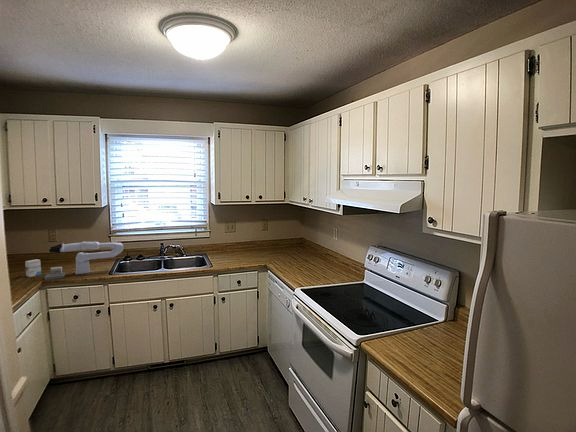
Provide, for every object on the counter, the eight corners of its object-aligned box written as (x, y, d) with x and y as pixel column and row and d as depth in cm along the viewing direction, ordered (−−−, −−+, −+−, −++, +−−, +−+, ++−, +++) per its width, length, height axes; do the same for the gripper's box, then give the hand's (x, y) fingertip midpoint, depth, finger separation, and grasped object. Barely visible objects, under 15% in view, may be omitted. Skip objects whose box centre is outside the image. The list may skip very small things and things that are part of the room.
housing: (62, 272, 274) (61, 266, 273) (61, 274, 269) (61, 268, 269) (51, 273, 270) (51, 267, 270) (50, 275, 266) (50, 269, 265)
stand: (65, 274, 267) (64, 272, 267) (63, 278, 258) (63, 275, 258) (46, 276, 261) (46, 274, 261) (44, 280, 253) (44, 277, 252)
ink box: (38, 273, 270) (37, 258, 269) (41, 274, 268) (40, 259, 266) (25, 276, 263) (24, 261, 261) (29, 277, 260) (28, 262, 259)
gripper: (71, 240, 274) (50, 242, 268) (69, 244, 261) (47, 246, 255) (72, 249, 275) (51, 251, 269) (70, 253, 263) (49, 255, 256)
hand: (50, 249), depth 262 cm, fingers open, 7 cm apart
